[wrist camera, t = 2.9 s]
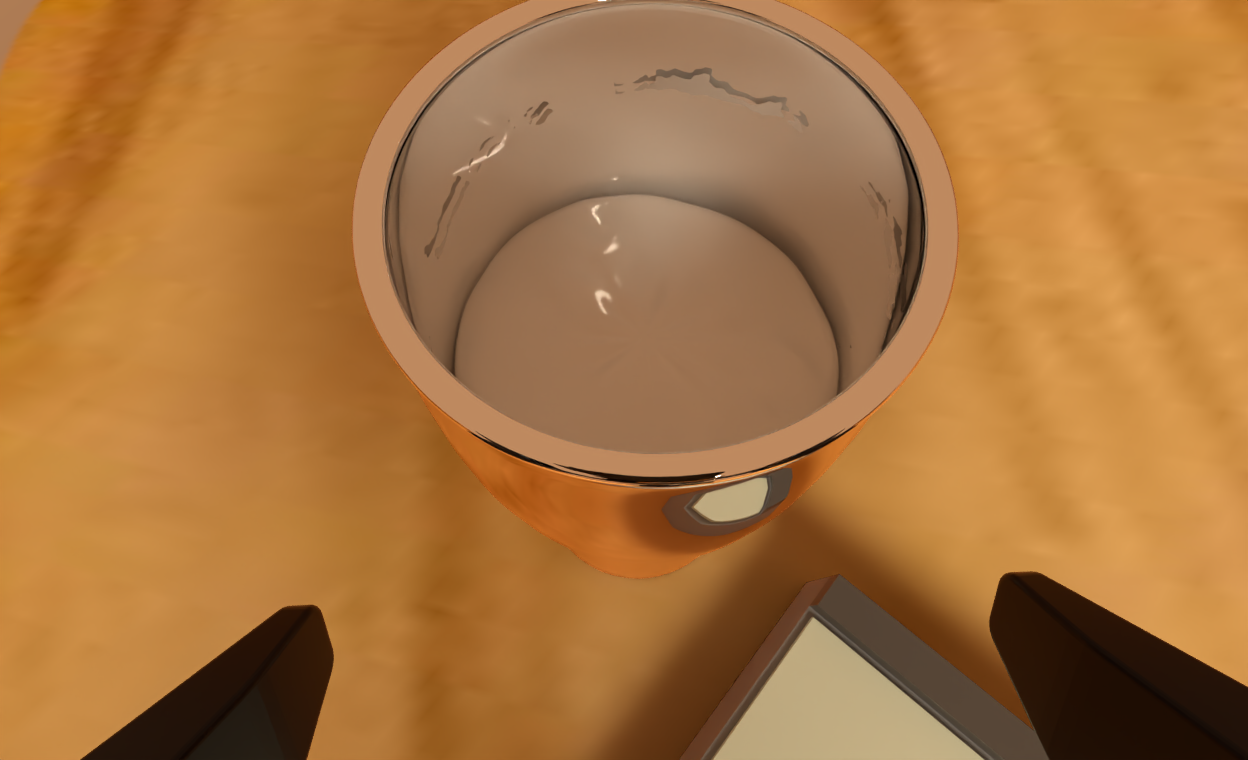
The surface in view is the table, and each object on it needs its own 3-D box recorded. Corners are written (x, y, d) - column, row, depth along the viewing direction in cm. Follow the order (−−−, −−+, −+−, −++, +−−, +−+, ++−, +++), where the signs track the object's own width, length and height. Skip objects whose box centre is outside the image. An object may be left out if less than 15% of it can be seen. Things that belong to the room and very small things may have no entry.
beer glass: (662, 642, 19) (754, 683, 5) (486, 504, 21) (188, 246, 7) (784, 460, 21) (1087, 131, 7) (615, 346, 23) (593, -109, 9)
